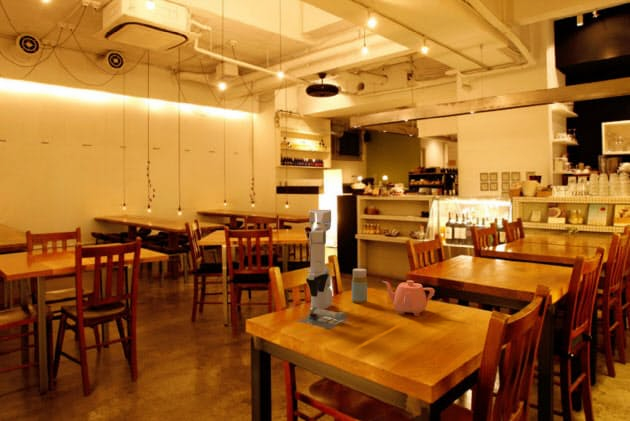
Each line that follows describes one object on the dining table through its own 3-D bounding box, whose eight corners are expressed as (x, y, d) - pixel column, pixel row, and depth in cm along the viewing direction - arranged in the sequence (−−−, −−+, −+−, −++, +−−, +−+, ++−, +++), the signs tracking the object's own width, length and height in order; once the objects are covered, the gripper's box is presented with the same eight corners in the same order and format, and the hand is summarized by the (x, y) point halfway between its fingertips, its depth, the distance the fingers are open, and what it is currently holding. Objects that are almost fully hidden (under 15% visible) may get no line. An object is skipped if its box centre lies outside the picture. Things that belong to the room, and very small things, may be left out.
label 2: (335, 319, 171) (335, 318, 171) (342, 321, 169) (342, 320, 169) (328, 322, 167) (328, 321, 167) (335, 324, 165) (335, 323, 165)
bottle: (349, 302, 199) (349, 270, 198) (355, 299, 205) (355, 267, 204) (363, 304, 196) (363, 271, 195) (369, 301, 202) (369, 269, 201)
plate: (317, 314, 181) (317, 311, 181) (350, 321, 171) (350, 318, 171) (296, 322, 170) (296, 319, 170) (329, 331, 160) (329, 328, 160)
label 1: (325, 317, 174) (325, 316, 174) (332, 318, 172) (332, 318, 172) (317, 320, 170) (317, 319, 170) (324, 322, 168) (324, 321, 168)
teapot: (407, 320, 173) (407, 286, 172) (381, 309, 188) (381, 278, 187) (437, 314, 181) (437, 282, 180) (410, 305, 196) (410, 275, 195)
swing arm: (307, 315, 174) (307, 307, 174) (312, 313, 177) (312, 305, 177) (340, 323, 164) (340, 314, 164) (345, 321, 167) (345, 312, 167)
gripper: (315, 256, 181) (315, 289, 182) (301, 262, 167) (301, 297, 168) (331, 257, 178) (330, 290, 179) (318, 263, 165) (318, 299, 166)
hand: (317, 294), depth 173 cm, fingers open, 7 cm apart
